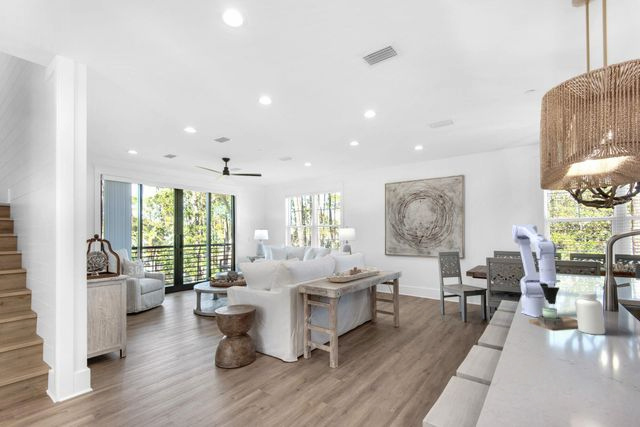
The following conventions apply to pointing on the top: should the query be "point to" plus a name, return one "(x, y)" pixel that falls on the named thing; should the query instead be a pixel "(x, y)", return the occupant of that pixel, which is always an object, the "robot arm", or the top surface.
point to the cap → (549, 313)
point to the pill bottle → (589, 314)
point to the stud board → (555, 323)
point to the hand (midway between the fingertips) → (550, 302)
